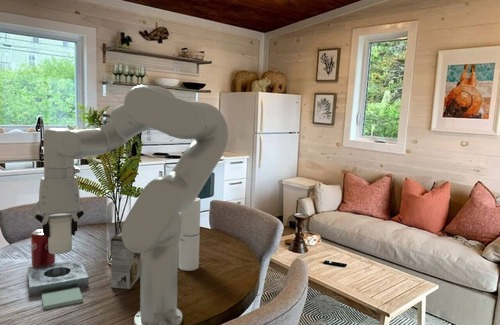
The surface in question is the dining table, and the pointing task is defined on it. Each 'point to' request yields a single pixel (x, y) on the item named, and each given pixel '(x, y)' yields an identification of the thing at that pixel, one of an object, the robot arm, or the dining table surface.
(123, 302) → the dining table surface
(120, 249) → the coffee box
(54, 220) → the white rounded cylinder
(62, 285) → the housing
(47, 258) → the soda can
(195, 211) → the cylindrical container
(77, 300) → the mat
